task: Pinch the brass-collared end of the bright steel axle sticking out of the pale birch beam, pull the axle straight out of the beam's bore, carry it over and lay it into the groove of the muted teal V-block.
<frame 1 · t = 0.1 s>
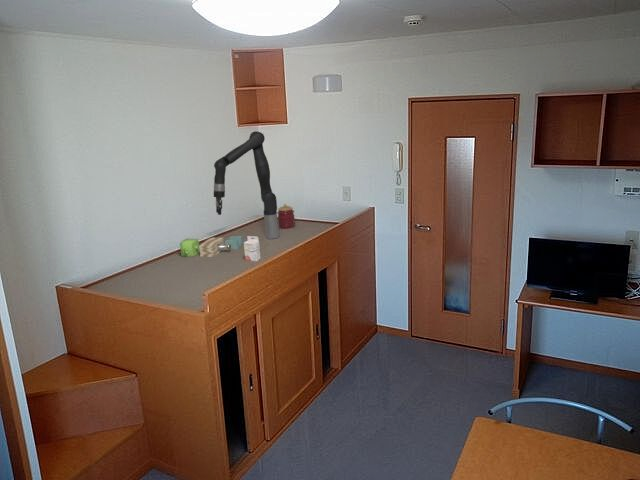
hand: (218, 213, 369), 22 cm above the table, tool pointing down, fingers open, 8 cm apart
green cube pot: (191, 254, 356), on the table
canister: (286, 226, 415), on the table
axle: (217, 249, 356), point 2 cm above the table, touching beam
beam: (212, 252, 357), on the table
v block: (234, 246, 368), on the table
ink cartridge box: (253, 260, 333), on the table
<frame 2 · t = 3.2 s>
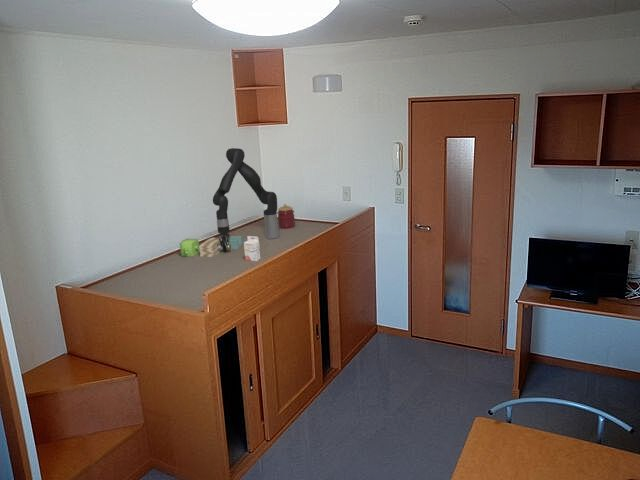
hand: (226, 250, 355), 1 cm above the table, tool pointing down, fingers closed on axle, 3 cm apart
axle: (217, 249, 356), point 2 cm above the table, touching beam, gripper
everything else where it was.
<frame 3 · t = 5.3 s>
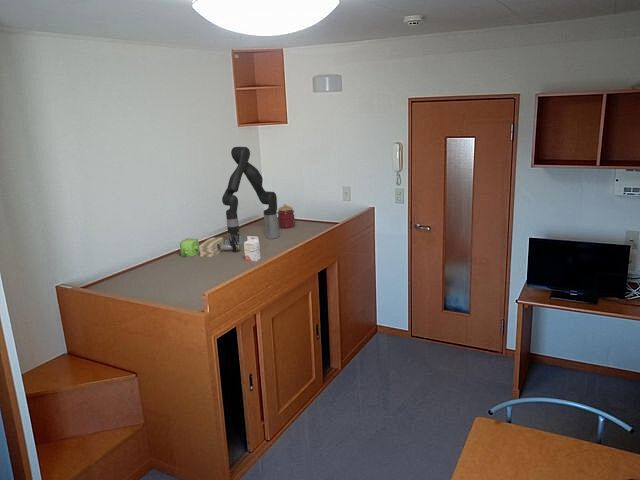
hand: (235, 250, 354), 1 cm above the table, tool pointing down, fingers closed on axle, 3 cm apart
axle: (226, 249, 355), point 2 cm above the table, tilted 5°, touching gripper
everything else where it was.
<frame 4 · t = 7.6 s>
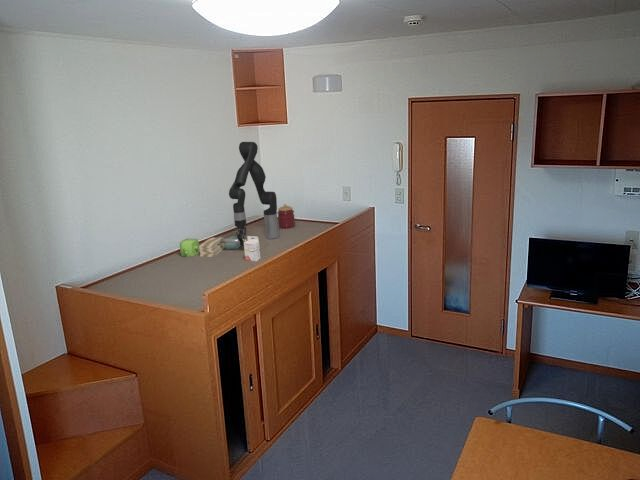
hand: (242, 244, 352), 5 cm above the table, tool pointing down, fingers closed on axle, 3 cm apart
axle: (234, 242, 353), point 6 cm above the table, tilted 6°, touching gripper
everything else where it was.
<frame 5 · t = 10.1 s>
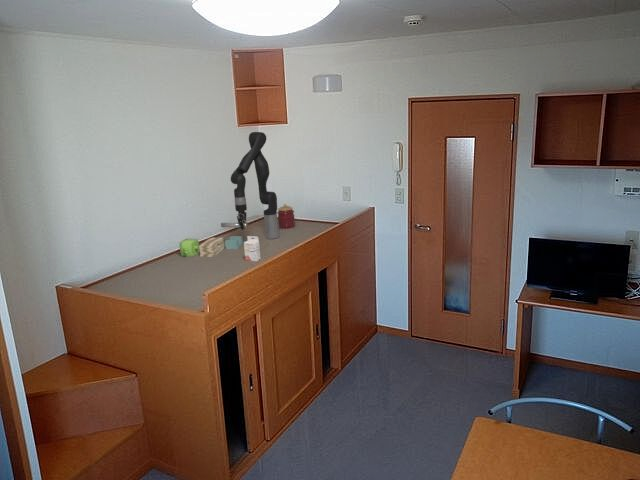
hand: (243, 228, 363), 13 cm above the table, tool pointing down, fingers closed on axle, 3 cm apart
axle: (234, 227, 364), point 14 cm above the table, touching gripper
everything else where it was.
when the fingers open (2 cm above the table, at t = 12.1 s): axle drops 1 cm, resting on v block.
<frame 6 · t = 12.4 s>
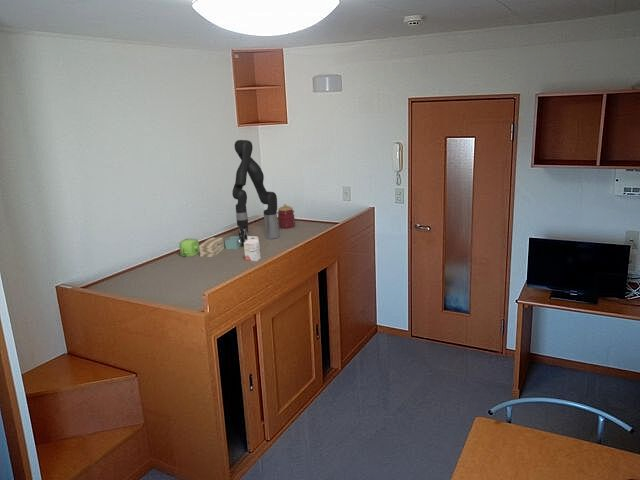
hand: (244, 242, 366), 3 cm above the table, tool pointing down, fingers open, 5 cm apart
axle: (236, 243, 367), point 2 cm above the table, tilted 9°, touching v block
everything else where it was.
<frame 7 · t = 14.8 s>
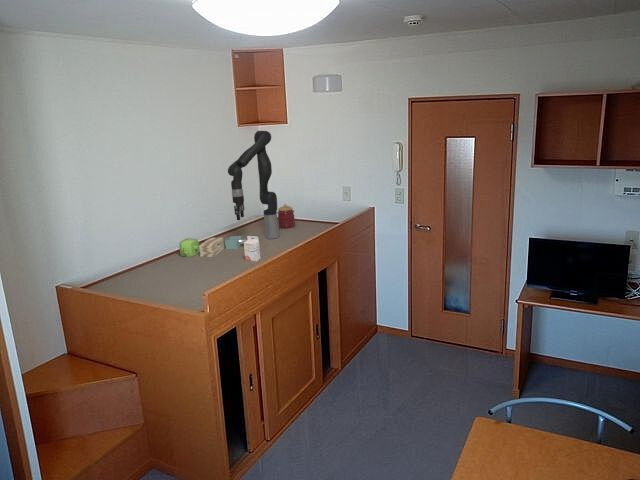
hand: (240, 218, 366), 18 cm above the table, tool pointing down, fingers open, 8 cm apart
nothing on the table moved.
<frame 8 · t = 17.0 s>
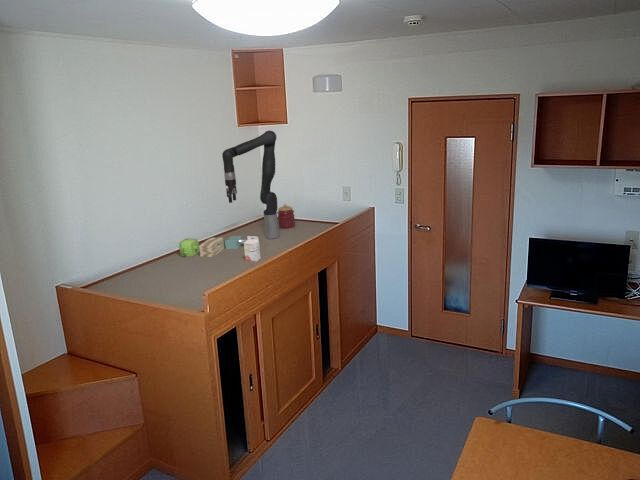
hand: (232, 201, 378), 28 cm above the table, tool pointing down, fingers open, 8 cm apart
axle: (236, 243, 367), point 2 cm above the table, tilted 5°, touching v block
everything else where it was.
at the end: axle 0.5 cm from the target spot on the v block, point 2.0 cm above the v block's base; axle touching v block; the gripper is holding nothing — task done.
